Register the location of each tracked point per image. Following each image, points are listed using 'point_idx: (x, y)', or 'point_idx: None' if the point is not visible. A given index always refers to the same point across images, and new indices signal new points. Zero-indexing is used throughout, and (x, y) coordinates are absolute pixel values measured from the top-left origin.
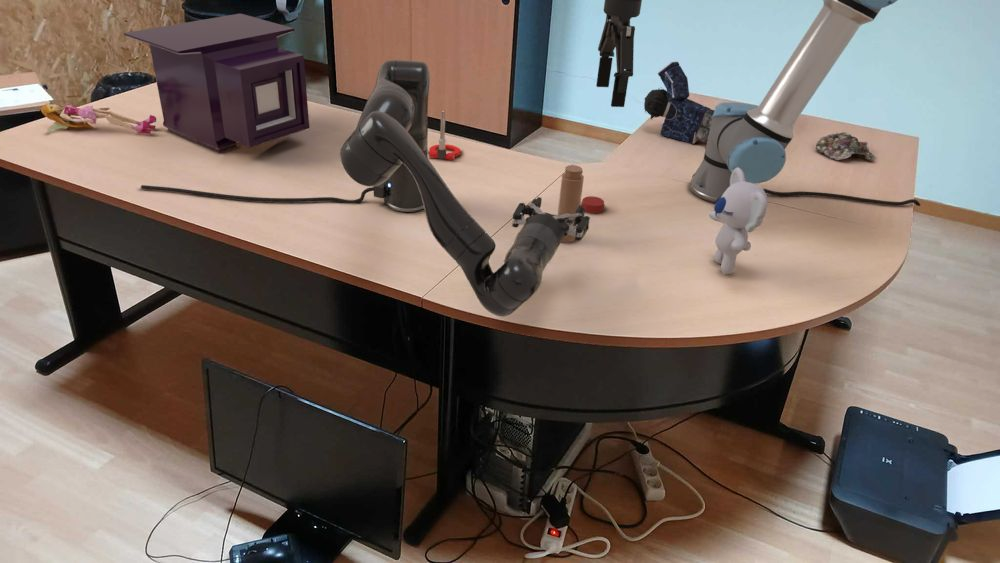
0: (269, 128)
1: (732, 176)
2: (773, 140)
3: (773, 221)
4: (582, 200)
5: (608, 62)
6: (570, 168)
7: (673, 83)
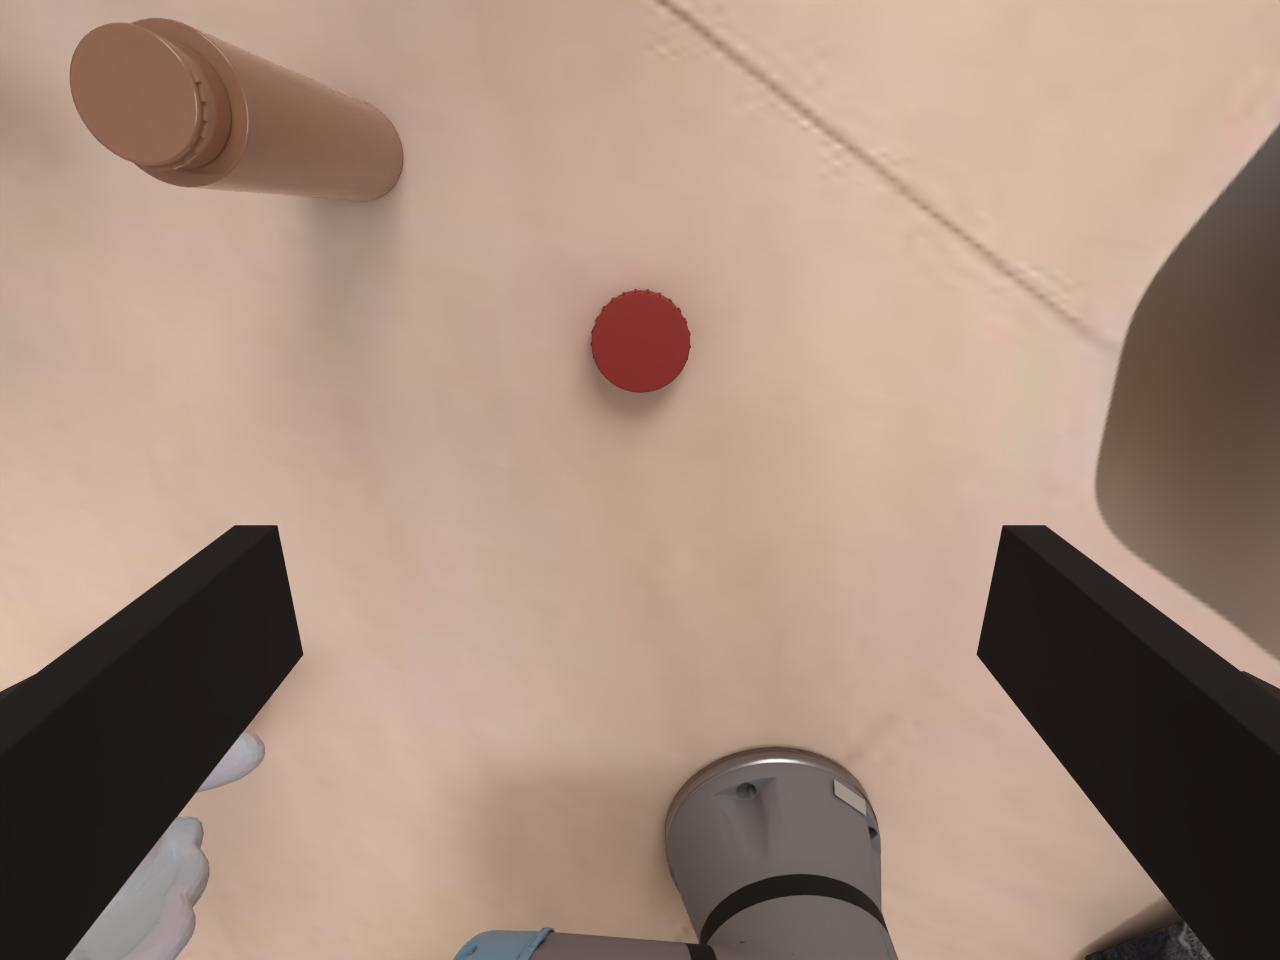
0: None
1: (147, 937)
2: None
3: (554, 898)
4: (647, 294)
5: (1221, 889)
6: (126, 66)
7: None
